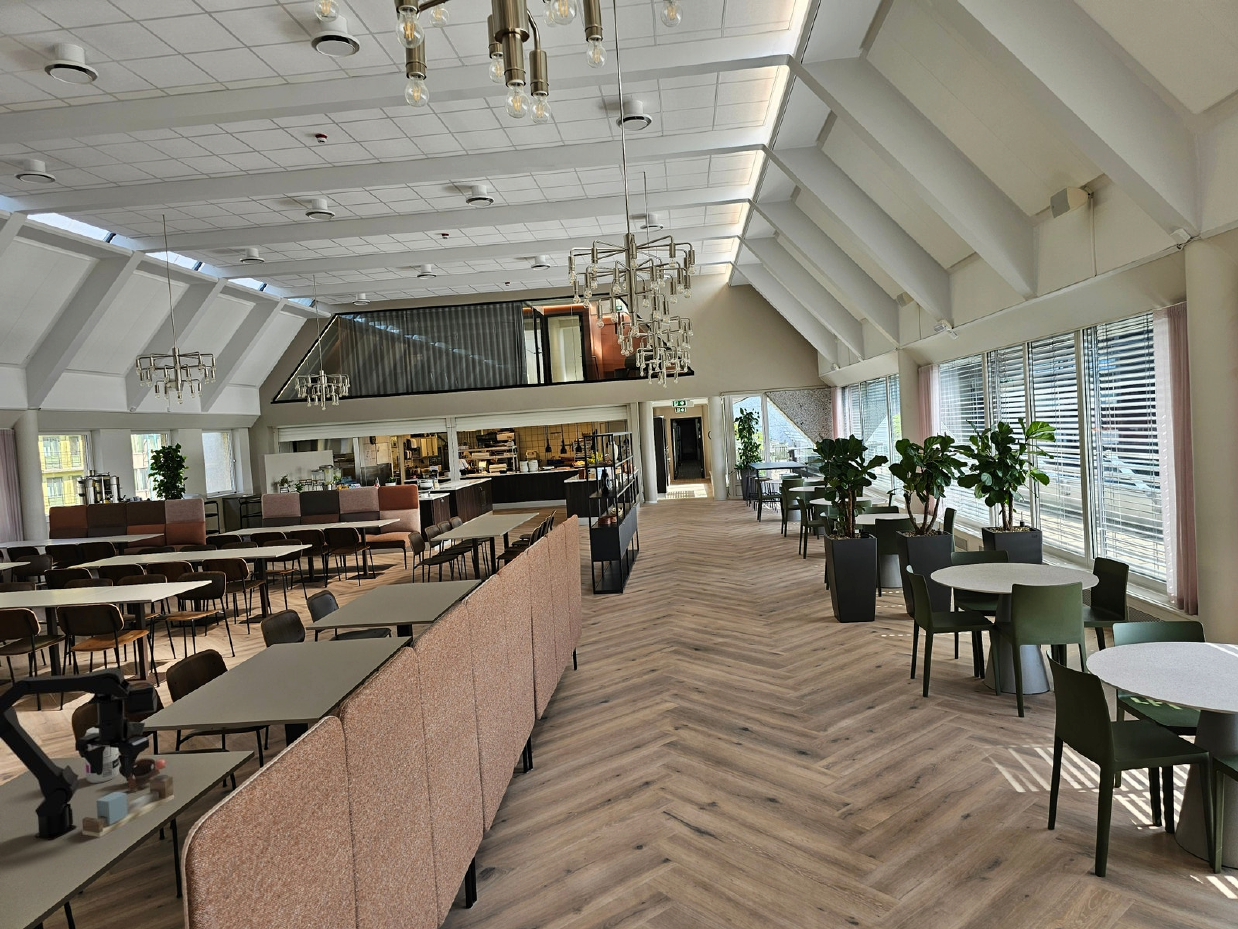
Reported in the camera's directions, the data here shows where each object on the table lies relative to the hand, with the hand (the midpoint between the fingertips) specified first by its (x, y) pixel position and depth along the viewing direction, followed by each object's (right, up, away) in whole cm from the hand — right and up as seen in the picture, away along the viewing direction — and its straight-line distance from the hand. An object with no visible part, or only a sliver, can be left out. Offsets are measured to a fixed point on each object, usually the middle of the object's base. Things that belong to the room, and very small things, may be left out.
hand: (113, 776), depth 203 cm
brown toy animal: (-8, -12, +24) cm, 28 cm away
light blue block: (+1, -11, -1) cm, 11 cm away
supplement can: (-22, -13, +29) cm, 38 cm away
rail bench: (+2, -12, +3) cm, 13 cm away
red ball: (+5, -3, +12) cm, 14 cm away
